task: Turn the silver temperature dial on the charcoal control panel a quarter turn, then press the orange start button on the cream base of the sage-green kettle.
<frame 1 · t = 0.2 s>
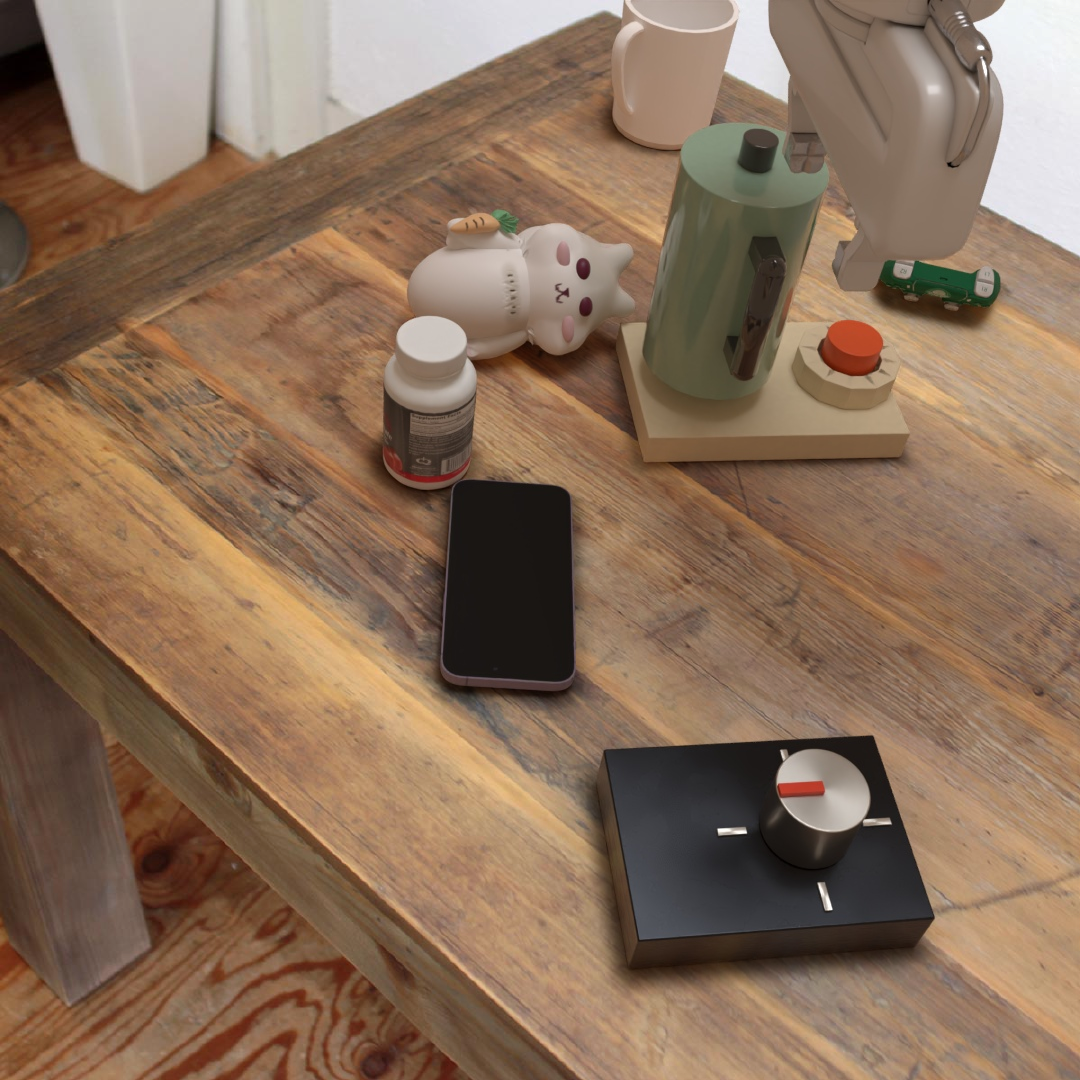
hand: (824, 221, 65), 22 cm above the table, tool pointing down, fingers open, 8 cm apart
gaming controller: (929, 298, 98), on the table
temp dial: (814, 807, 62), point 5 cm above the table, hinge at 0.0°
start button: (851, 348, 86), point 5 cm above the table, slide at 0.2 cm
mug: (650, 129, 110), on the table
cat figurine: (517, 335, 91), on the table
smartphone: (508, 587, 76), on the table
pill bottle: (426, 463, 82), on the table
kettle base: (754, 401, 88), on the table
kettle: (707, 355, 85), resting on kettle base
dial panel: (750, 861, 66), on the table
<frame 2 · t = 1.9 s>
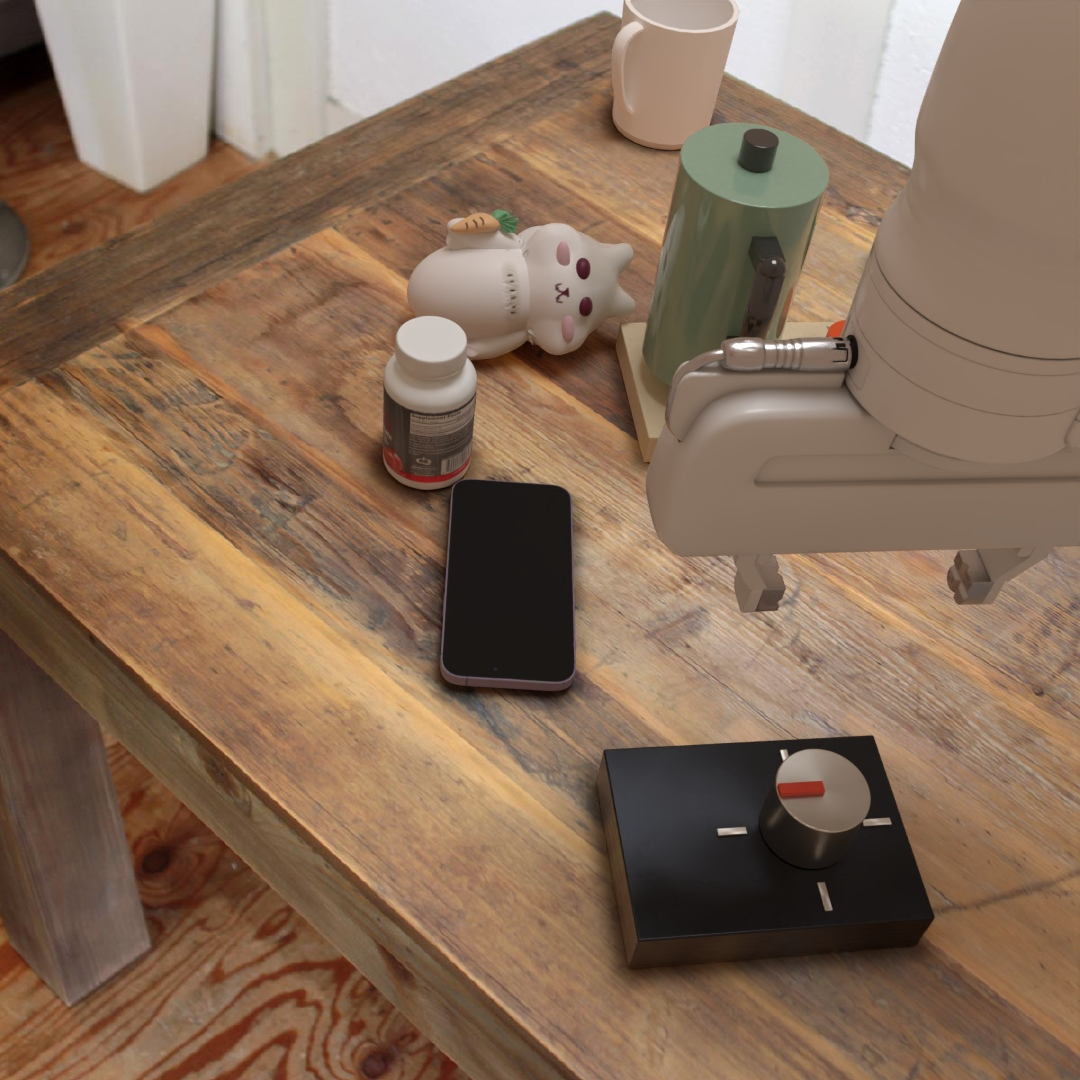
hand: (861, 596, 56), 16 cm above the table, tool pointing down, fingers open, 8 cm apart
nothing on the table moved.
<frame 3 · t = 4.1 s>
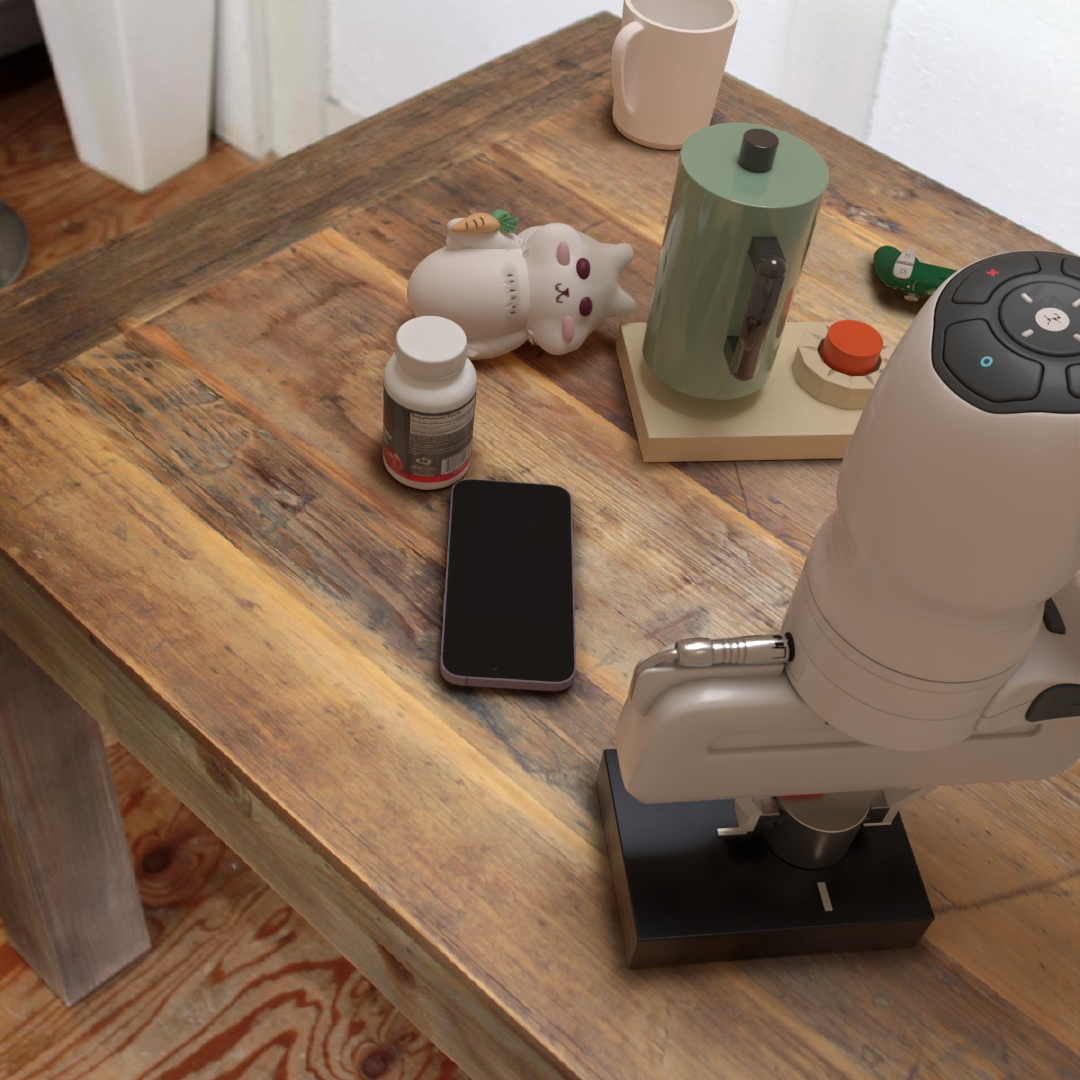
hand: (812, 814, 63), 4 cm above the table, tool pointing down, fingers closed on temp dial, 4 cm apart
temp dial: (814, 807, 62), point 5 cm above the table, hinge at 0.2°, touching gripper
everything else where it was.
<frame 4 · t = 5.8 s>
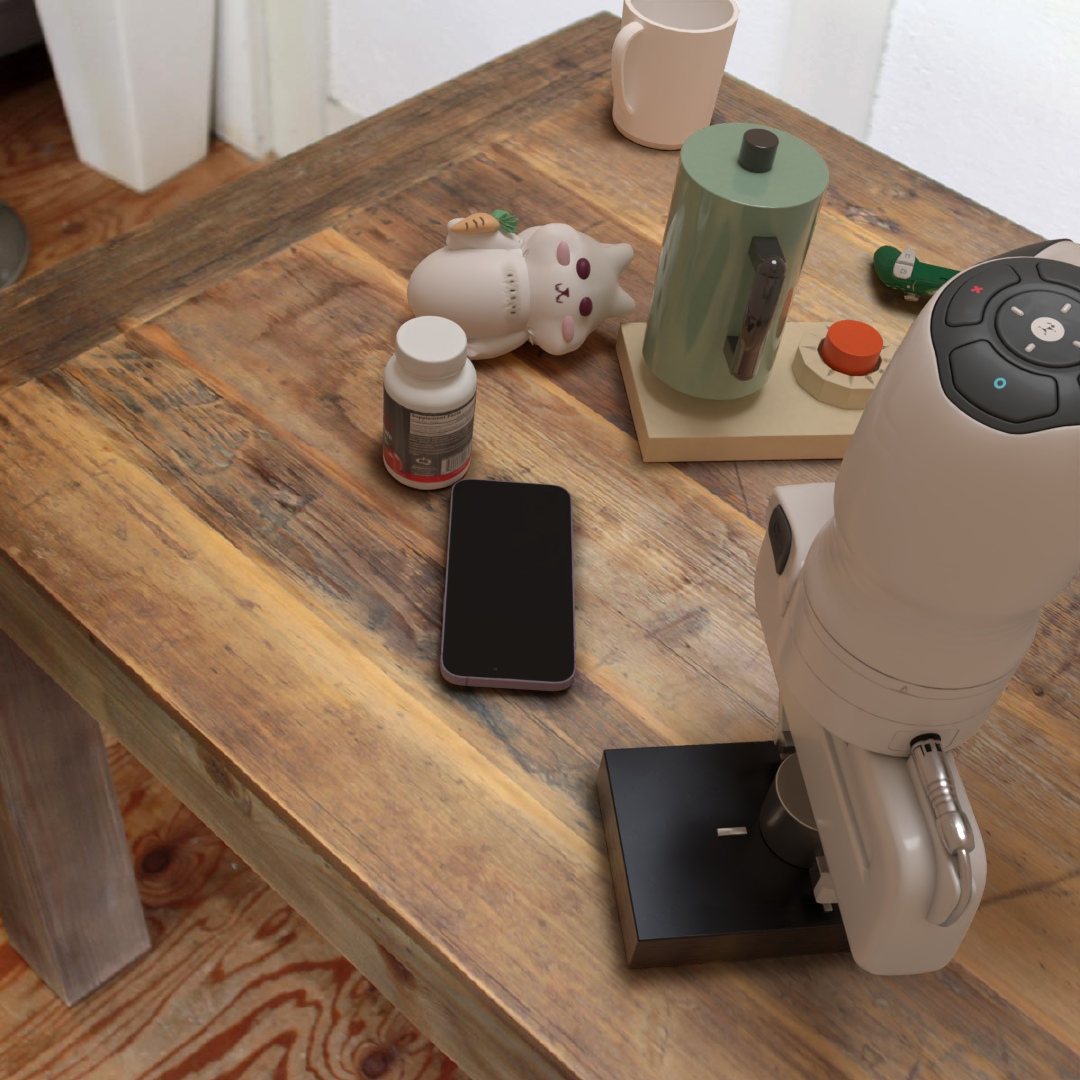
hand: (809, 818, 63), 4 cm above the table, tool pointing down, fingers open, 6 cm apart
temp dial: (814, 807, 62), point 5 cm above the table, hinge at 89.4°
everything else where it was.
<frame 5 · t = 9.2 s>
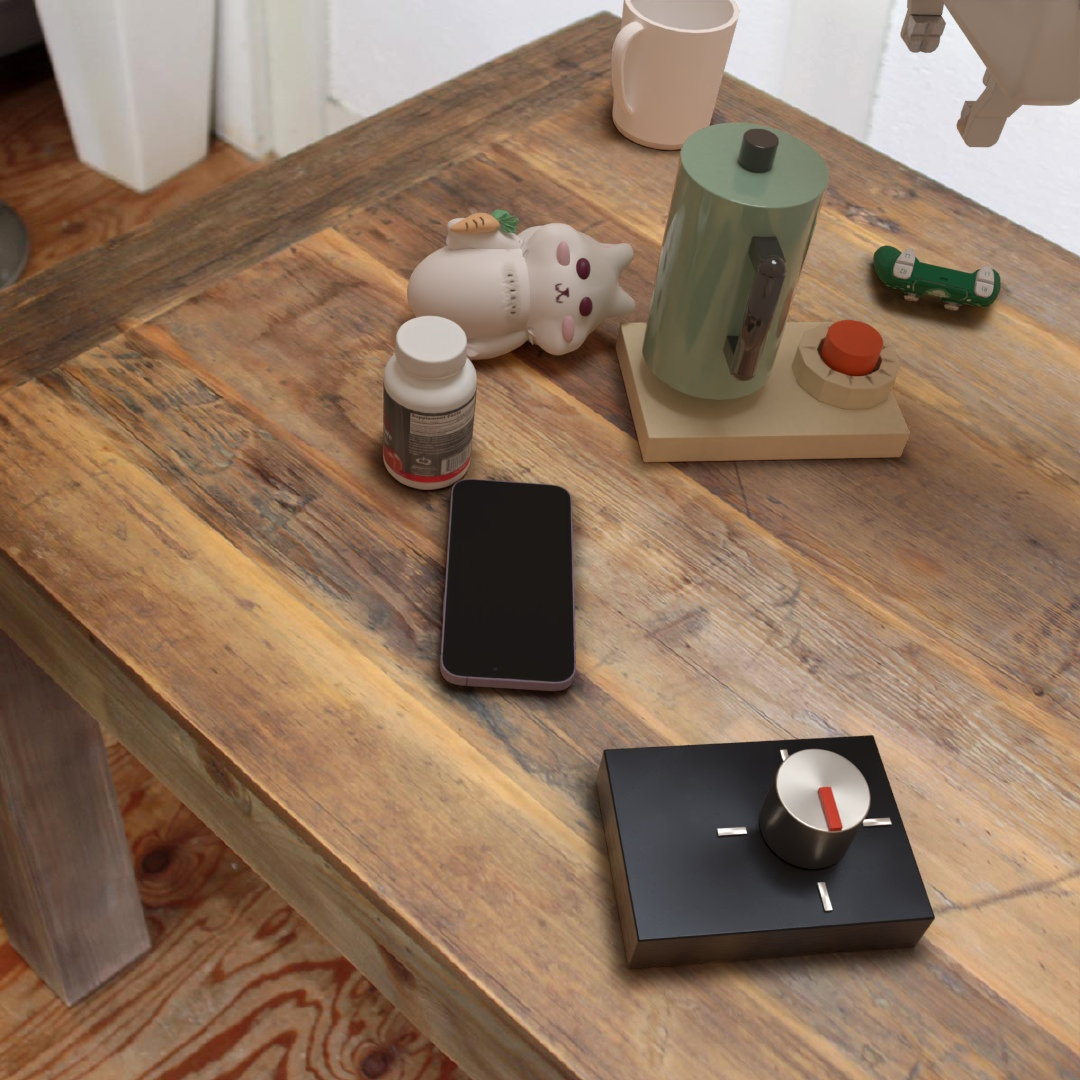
hand: (944, 91, 72), 23 cm above the table, tool pointing down, fingers open, 8 cm apart
nothing on the table moved.
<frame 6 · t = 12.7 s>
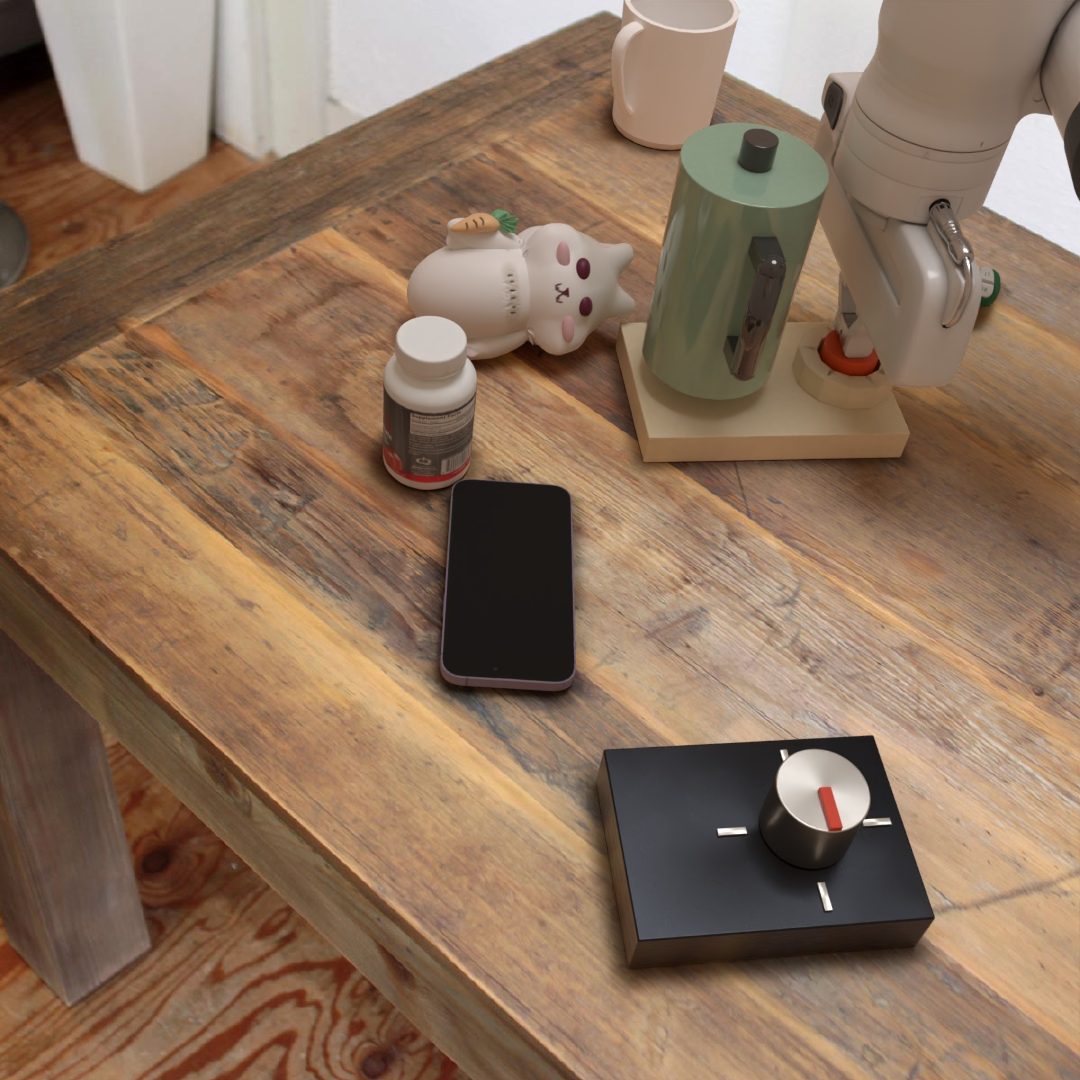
hand: (850, 343, 86), 5 cm above the table, tool pointing down, fingers closed, pressing on start button
start button: (849, 355, 86), point 4 cm above the table, slide at -0.5 cm, touching gripper
everything else where it was.
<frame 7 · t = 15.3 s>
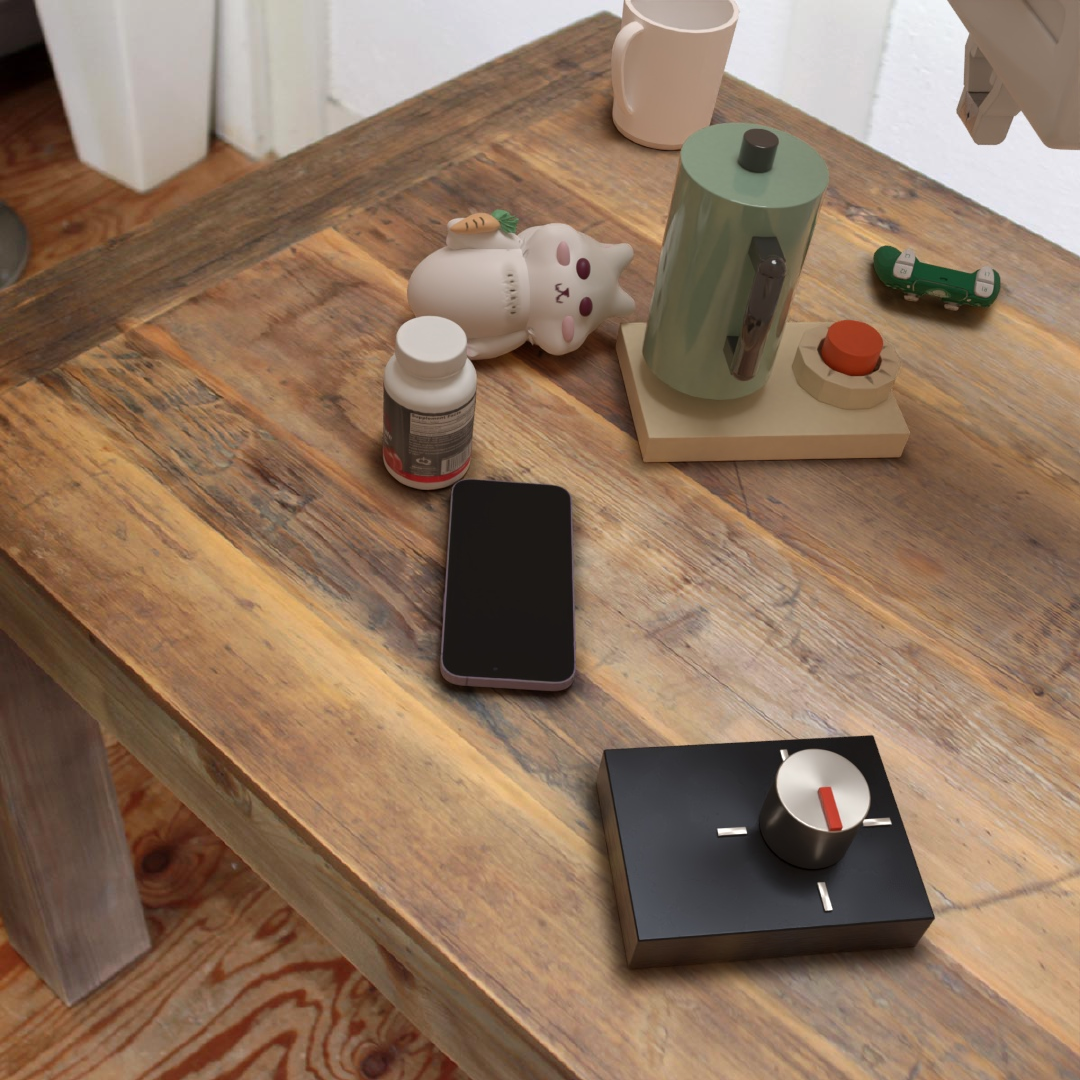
hand: (978, 130, 72), 22 cm above the table, tool pointing down, fingers closed
start button: (851, 348, 86), point 5 cm above the table, slide at 0.2 cm
everything else where it was.
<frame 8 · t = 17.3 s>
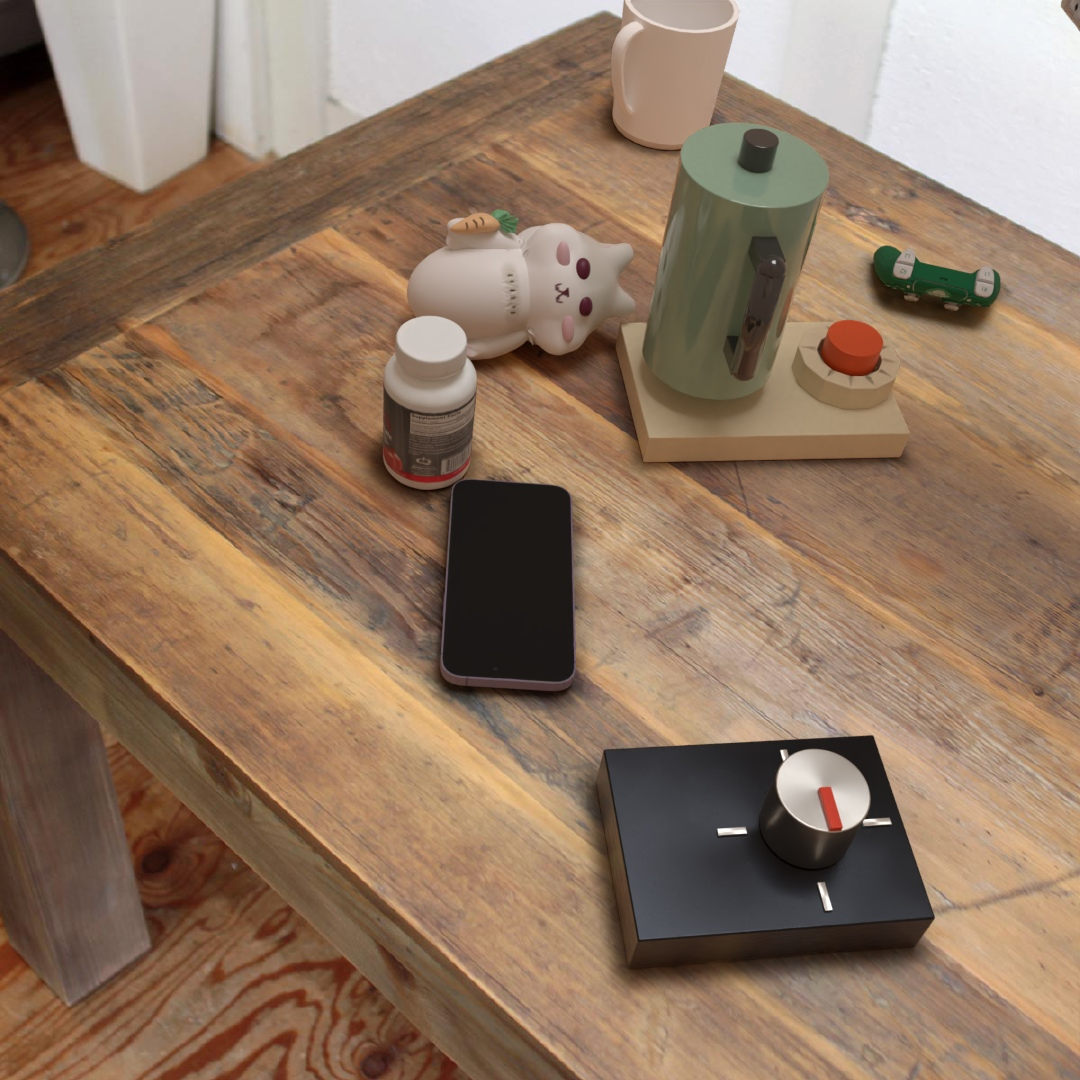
nothing on the table moved.
at the end: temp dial at +89° (first picture: +0°); start button pushed in 1.0 cm at the most during the clip, back to 0.2 cm at the end; start button slide at 0.2 cm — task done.
